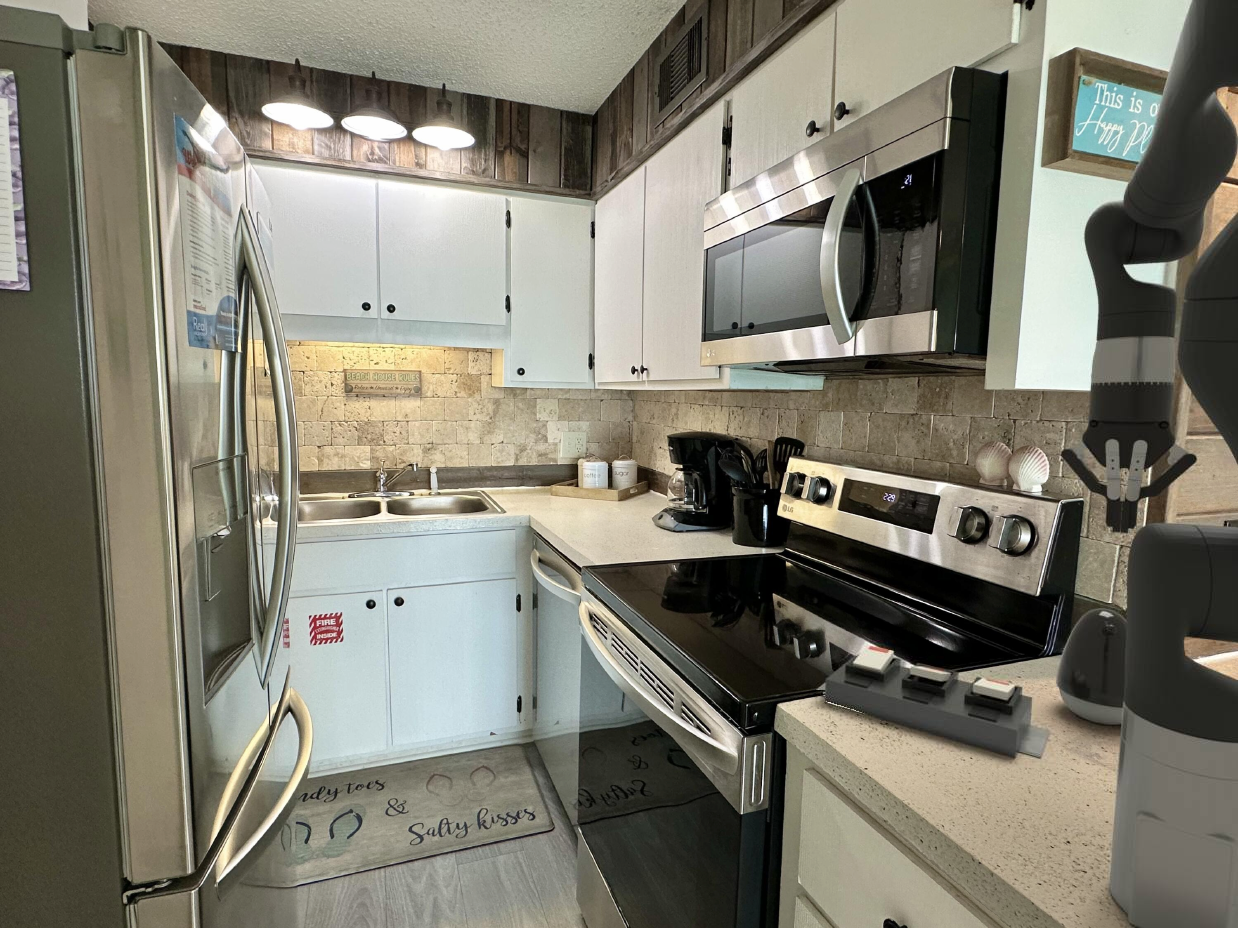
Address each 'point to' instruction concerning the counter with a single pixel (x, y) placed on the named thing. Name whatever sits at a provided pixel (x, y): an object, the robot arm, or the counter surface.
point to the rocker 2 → (994, 688)
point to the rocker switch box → (939, 707)
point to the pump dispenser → (1095, 667)
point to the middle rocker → (930, 673)
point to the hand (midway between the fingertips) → (1120, 531)
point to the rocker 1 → (874, 658)
